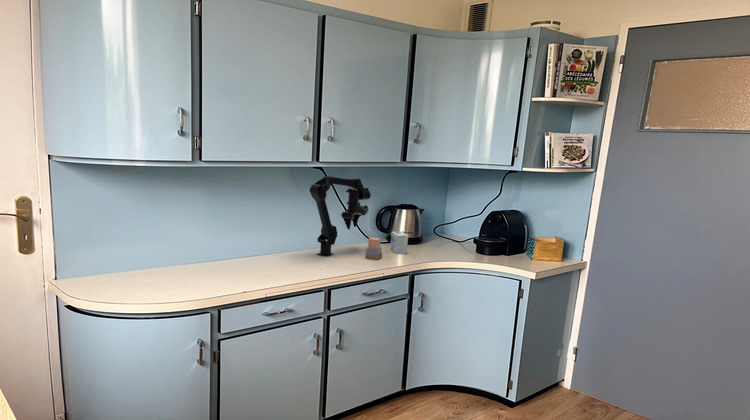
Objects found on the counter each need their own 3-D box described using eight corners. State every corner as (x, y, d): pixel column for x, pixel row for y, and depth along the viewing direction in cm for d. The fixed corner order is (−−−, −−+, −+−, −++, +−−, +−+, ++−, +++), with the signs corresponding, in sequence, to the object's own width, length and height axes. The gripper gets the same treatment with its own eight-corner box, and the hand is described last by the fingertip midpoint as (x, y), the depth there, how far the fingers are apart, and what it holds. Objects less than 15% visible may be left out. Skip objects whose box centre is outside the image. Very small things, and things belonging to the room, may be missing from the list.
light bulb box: (389, 249, 290) (391, 231, 289) (400, 249, 292) (402, 231, 291) (396, 254, 280) (397, 235, 278) (407, 253, 282) (408, 235, 281)
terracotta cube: (376, 249, 264) (377, 240, 264) (368, 248, 266) (368, 238, 265) (379, 247, 269) (380, 238, 268) (371, 246, 271) (371, 237, 270)
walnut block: (377, 260, 264) (377, 255, 264) (365, 258, 267) (365, 253, 266) (381, 258, 271) (382, 252, 270) (369, 256, 273) (370, 250, 273)
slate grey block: (378, 255, 264) (378, 249, 264) (365, 253, 265) (366, 248, 265) (381, 252, 271) (381, 246, 270) (368, 250, 272) (369, 245, 272)
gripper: (360, 204, 265) (359, 232, 268) (372, 200, 283) (371, 227, 285) (341, 201, 269) (340, 230, 271) (354, 198, 286) (353, 224, 289)
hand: (351, 228), depth 279 cm, fingers open, 9 cm apart
